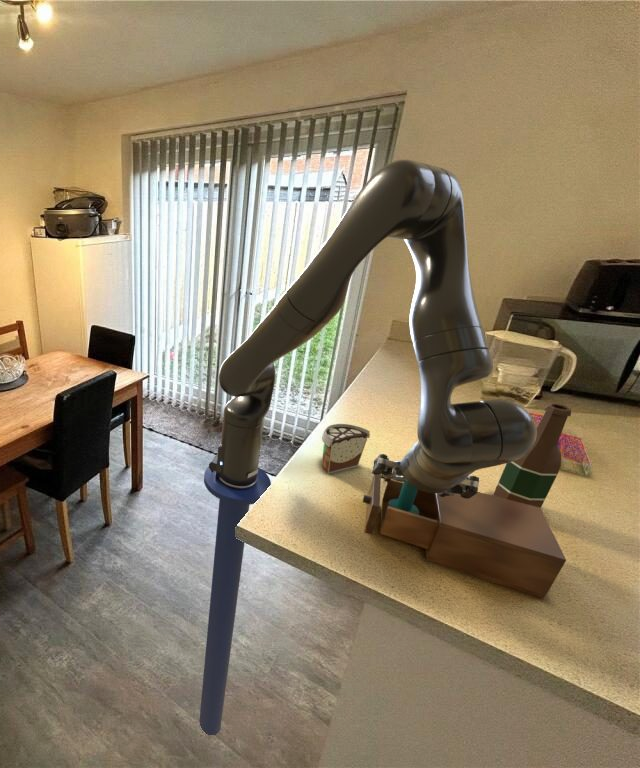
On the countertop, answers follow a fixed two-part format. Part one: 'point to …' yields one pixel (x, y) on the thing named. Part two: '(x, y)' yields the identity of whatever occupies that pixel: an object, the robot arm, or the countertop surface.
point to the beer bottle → (536, 462)
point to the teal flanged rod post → (405, 499)
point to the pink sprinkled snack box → (562, 442)
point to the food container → (343, 446)
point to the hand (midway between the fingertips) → (413, 483)
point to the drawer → (401, 514)
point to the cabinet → (497, 542)
